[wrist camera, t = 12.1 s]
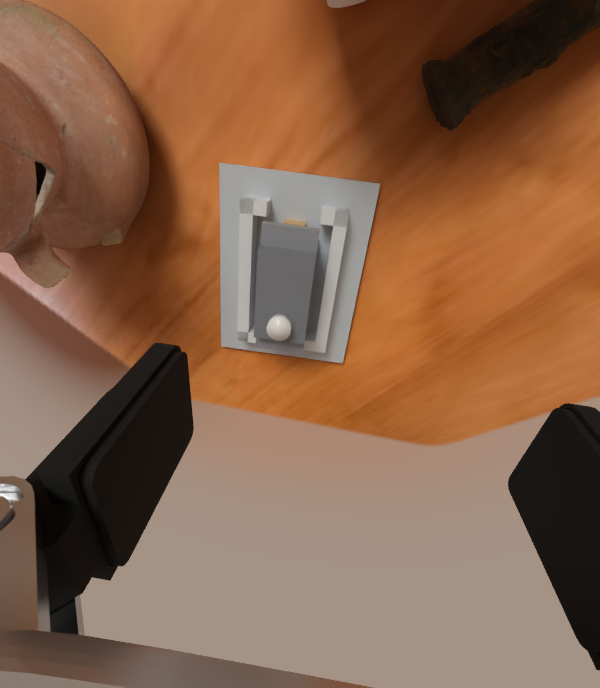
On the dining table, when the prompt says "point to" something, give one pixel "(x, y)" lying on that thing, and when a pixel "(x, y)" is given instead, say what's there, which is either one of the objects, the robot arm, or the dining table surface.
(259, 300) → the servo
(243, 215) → the pocket
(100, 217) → the ceramic jug
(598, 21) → the hand tool
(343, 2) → the cable organizer
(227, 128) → the dining table surface
